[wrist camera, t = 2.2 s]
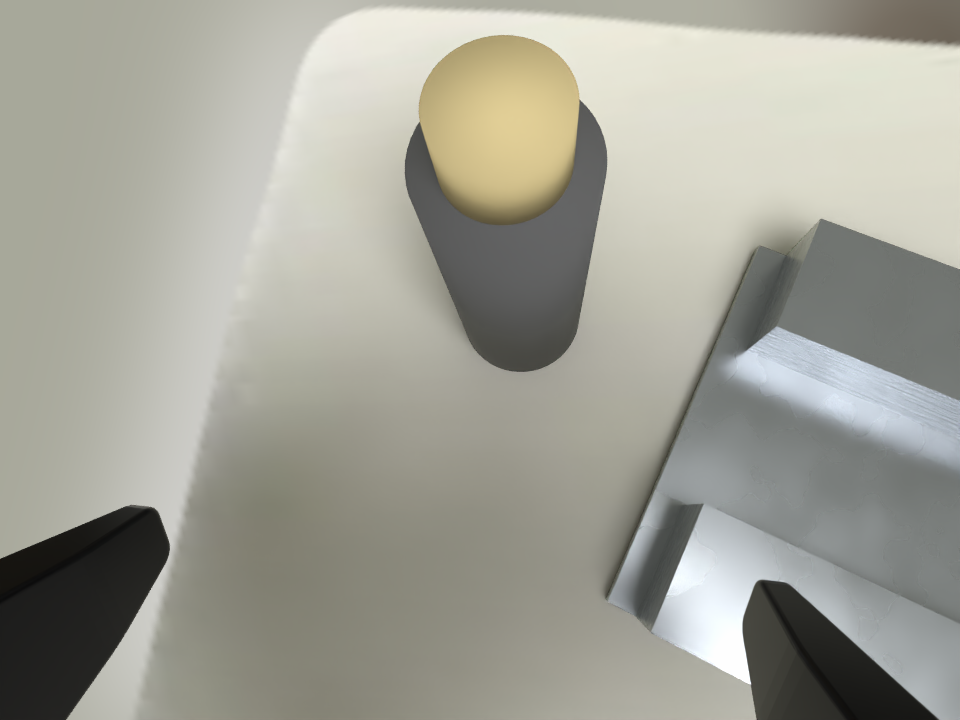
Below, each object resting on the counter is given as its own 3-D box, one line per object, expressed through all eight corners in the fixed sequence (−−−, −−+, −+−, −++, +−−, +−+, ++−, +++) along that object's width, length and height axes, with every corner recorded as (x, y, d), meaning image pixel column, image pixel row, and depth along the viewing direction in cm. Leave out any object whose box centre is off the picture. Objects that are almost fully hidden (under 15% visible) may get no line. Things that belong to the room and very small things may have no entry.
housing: (1038, 823, 19) (1151, 892, 15) (605, 599, 22) (618, 615, 18) (1157, 407, 21) (1277, 386, 18) (754, 252, 24) (790, 207, 20)
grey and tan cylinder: (549, 390, 23) (556, 248, 11) (445, 343, 24) (341, 159, 12) (597, 289, 24) (655, 46, 12) (494, 246, 25) (447, -23, 13)
